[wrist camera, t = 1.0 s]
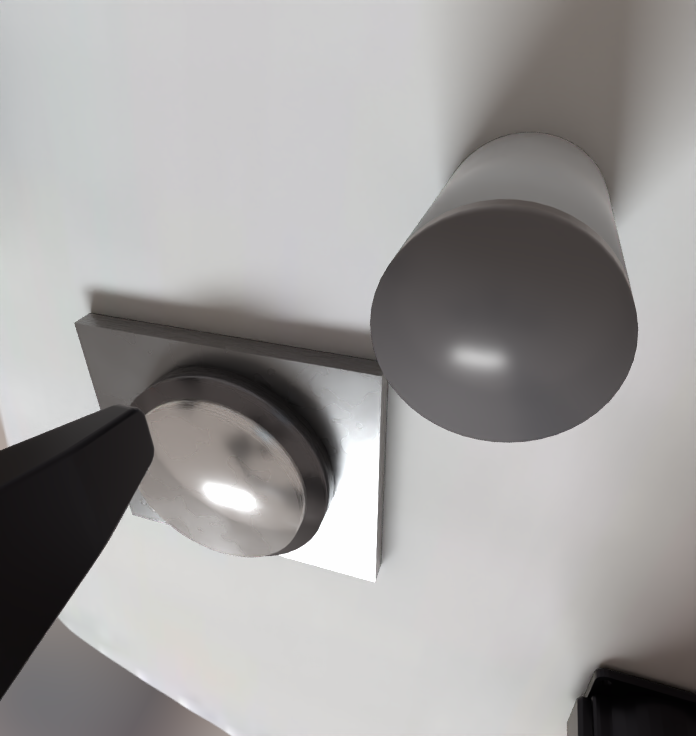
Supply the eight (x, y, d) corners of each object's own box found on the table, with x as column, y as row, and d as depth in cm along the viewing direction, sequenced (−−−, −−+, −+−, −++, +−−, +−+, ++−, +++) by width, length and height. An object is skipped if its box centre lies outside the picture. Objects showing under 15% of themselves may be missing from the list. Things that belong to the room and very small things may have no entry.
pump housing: (629, 136, 15) (675, 225, 9) (588, 302, 18) (600, 463, 11) (447, 127, 17) (372, 199, 10) (434, 283, 19) (368, 417, 13)
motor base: (388, 362, 21) (366, 406, 19) (380, 565, 28) (363, 617, 25) (89, 313, 25) (39, 344, 23) (143, 502, 32) (108, 542, 29)
